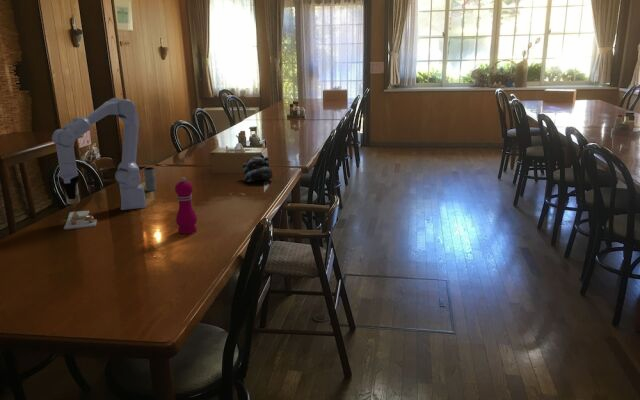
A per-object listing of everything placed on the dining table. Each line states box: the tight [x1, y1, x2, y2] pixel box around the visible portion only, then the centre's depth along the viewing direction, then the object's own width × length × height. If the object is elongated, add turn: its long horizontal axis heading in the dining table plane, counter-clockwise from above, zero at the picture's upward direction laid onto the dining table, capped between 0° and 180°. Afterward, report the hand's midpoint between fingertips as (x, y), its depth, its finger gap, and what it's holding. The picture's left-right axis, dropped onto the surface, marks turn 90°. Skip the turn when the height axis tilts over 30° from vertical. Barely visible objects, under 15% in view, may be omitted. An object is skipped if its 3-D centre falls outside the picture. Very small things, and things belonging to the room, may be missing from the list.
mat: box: [67, 210, 90, 219], centre depth 201 cm, size 7×7×1 cm
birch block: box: [64, 183, 81, 205], centre depth 191 cm, size 4×4×7 cm
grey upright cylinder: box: [143, 166, 157, 192], centre depth 234 cm, size 4×4×10 cm
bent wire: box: [71, 211, 95, 225], centre depth 192 cm, size 8×8×3 cm
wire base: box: [63, 217, 98, 230], centre depth 192 cm, size 10×11×1 cm
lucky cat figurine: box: [241, 154, 274, 183], centre depth 249 cm, size 15×12×14 cm
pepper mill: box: [174, 176, 198, 235], centre depth 179 cm, size 7×7×20 cm
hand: (72, 197), depth 192 cm, fingers closed on birch block, 4 cm apart
